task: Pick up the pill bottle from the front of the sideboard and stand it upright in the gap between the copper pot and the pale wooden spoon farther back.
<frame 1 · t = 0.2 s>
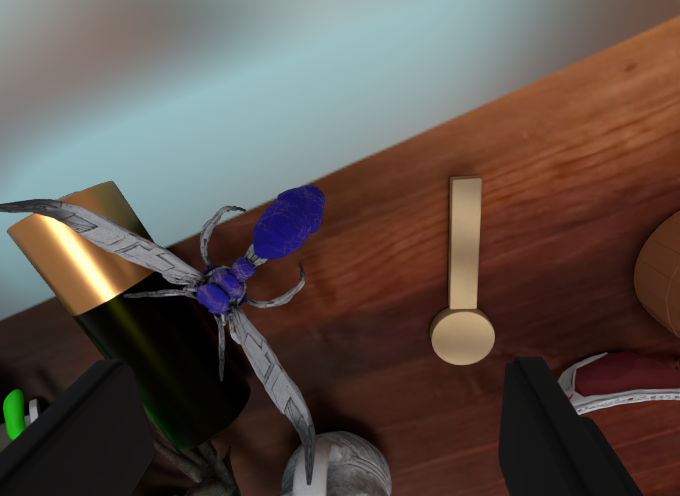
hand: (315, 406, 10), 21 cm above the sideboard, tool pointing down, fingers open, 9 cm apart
mechanical insect: (277, 231, 32), on the sideboard
battery: (216, 417, 34), point 4 cm above the sideboard
wooden spoon: (461, 261, 31), on the sideboard
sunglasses: (618, 428, 35), on the sideboard
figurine: (146, 407, 37), point 2 cm above the sideboard, touching mug
mug: (333, 439, 38), on the sideboard, touching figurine
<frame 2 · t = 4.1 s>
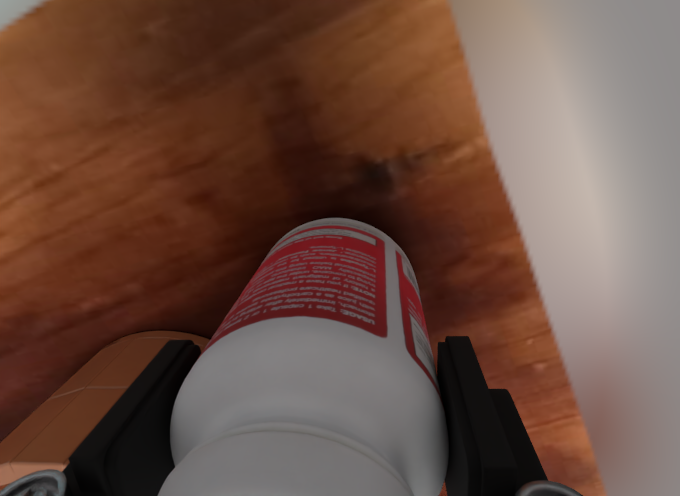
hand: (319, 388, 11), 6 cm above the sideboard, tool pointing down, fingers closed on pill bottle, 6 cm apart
pot: (183, 424, 20), on the sideboard
pill bottle: (339, 285, 17), on the sideboard, touching gripper
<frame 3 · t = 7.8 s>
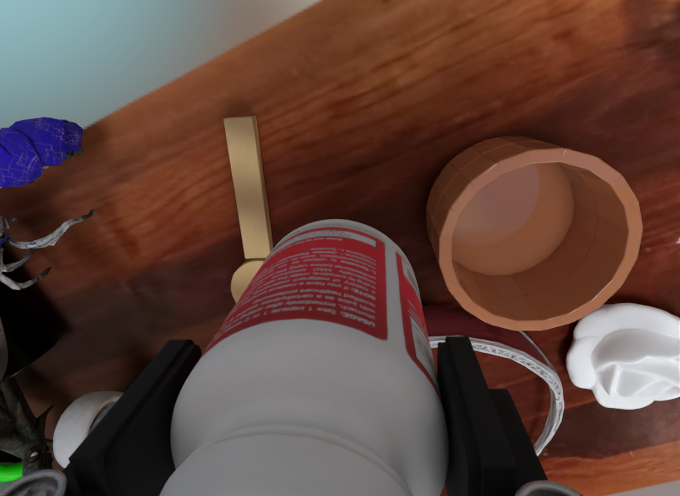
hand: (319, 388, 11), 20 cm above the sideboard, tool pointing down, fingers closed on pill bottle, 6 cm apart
rose: (627, 345, 32), on the sideboard
pot: (501, 212, 29), on the sideboard
mechanical insect: (71, 177, 31), on the sideboard
battery: (18, 371, 33), point 4 cm above the sideboard
wooden spoon: (255, 209, 30), on the sideboard
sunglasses: (438, 387, 34), on the sideboard
mug: (161, 399, 37), on the sideboard, touching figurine
pill bottle: (339, 286, 17), point 14 cm above the sideboard, touching gripper
when the fingers open (6 cm above the sideboard, at t = 11.3 s): pill bottle stays where it is, on the sideboard.
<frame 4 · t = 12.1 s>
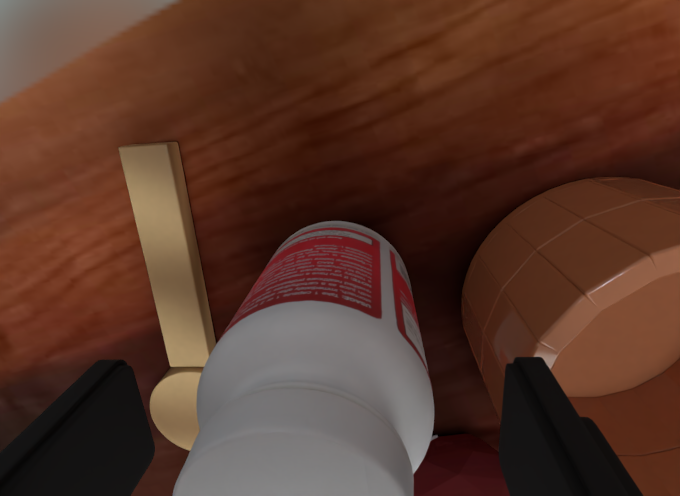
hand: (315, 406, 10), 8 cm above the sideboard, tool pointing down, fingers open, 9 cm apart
pot: (586, 299, 17), on the sideboard
wooden spoon: (185, 289, 19), on the sideboard
pill bottle: (339, 283, 18), on the sideboard
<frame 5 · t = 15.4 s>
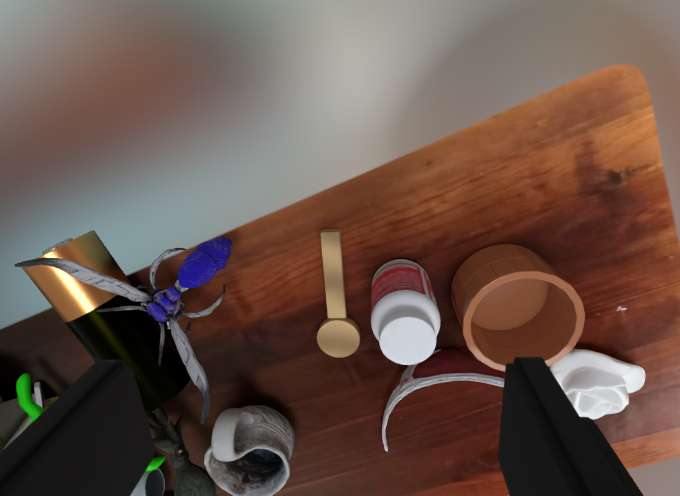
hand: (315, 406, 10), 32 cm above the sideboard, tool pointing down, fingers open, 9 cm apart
rose: (587, 375, 46), on the sideboard
toy octopus: (42, 474, 48), point 8 cm above the sideboard, touching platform, pendant light
pot: (501, 290, 43), on the sideboard
mechanical insect: (209, 263, 46), on the sideboard
battery: (167, 394, 48), point 4 cm above the sideboard
wooden spoon: (335, 285, 45), on the sideboard
pendant light: (156, 485, 53), point 4 cm above the sideboard, touching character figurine, toy octopus
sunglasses: (457, 403, 49), on the sideboard
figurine: (119, 387, 50), point 2 cm above the sideboard, touching mug
mug: (257, 412, 52), on the sideboard, touching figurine
pill bottle: (400, 283, 44), on the sideboard
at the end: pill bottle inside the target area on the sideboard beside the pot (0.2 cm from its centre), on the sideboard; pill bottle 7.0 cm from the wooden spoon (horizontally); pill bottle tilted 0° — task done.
